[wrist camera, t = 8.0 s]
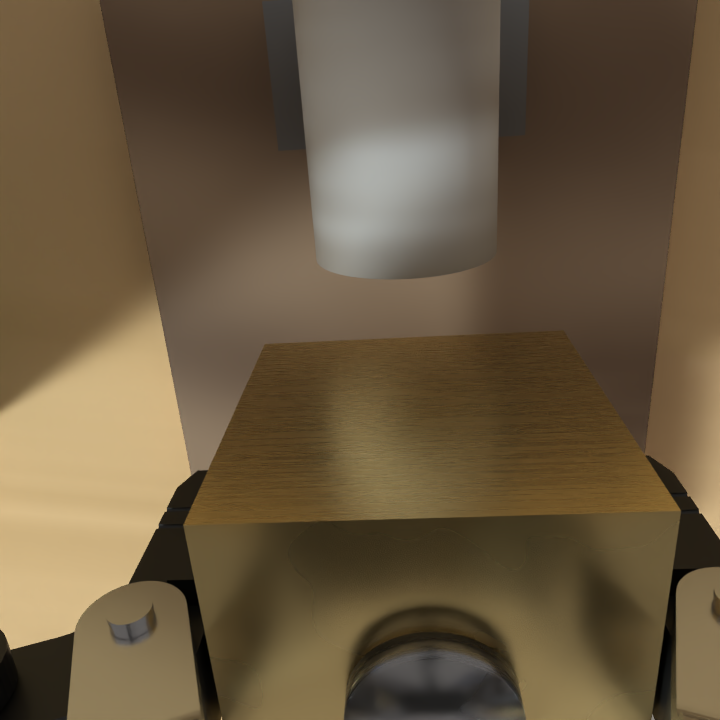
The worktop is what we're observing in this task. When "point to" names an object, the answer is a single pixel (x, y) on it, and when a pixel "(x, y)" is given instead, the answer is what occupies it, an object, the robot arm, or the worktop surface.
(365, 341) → the joint block
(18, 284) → the worktop surface
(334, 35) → the rig
